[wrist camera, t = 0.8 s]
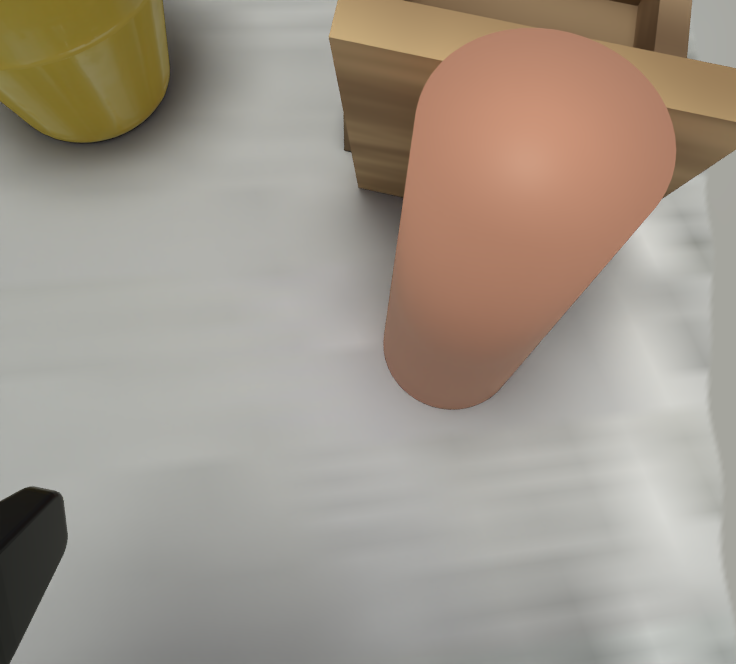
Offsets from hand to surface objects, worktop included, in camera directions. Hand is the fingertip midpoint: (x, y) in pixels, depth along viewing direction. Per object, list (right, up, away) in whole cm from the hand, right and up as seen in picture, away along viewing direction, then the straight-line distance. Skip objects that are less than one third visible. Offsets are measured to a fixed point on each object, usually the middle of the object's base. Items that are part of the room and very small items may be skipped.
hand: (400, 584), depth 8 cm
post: (+3, +3, +16) cm, 17 cm away
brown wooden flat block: (+4, +7, +18) cm, 20 cm away
